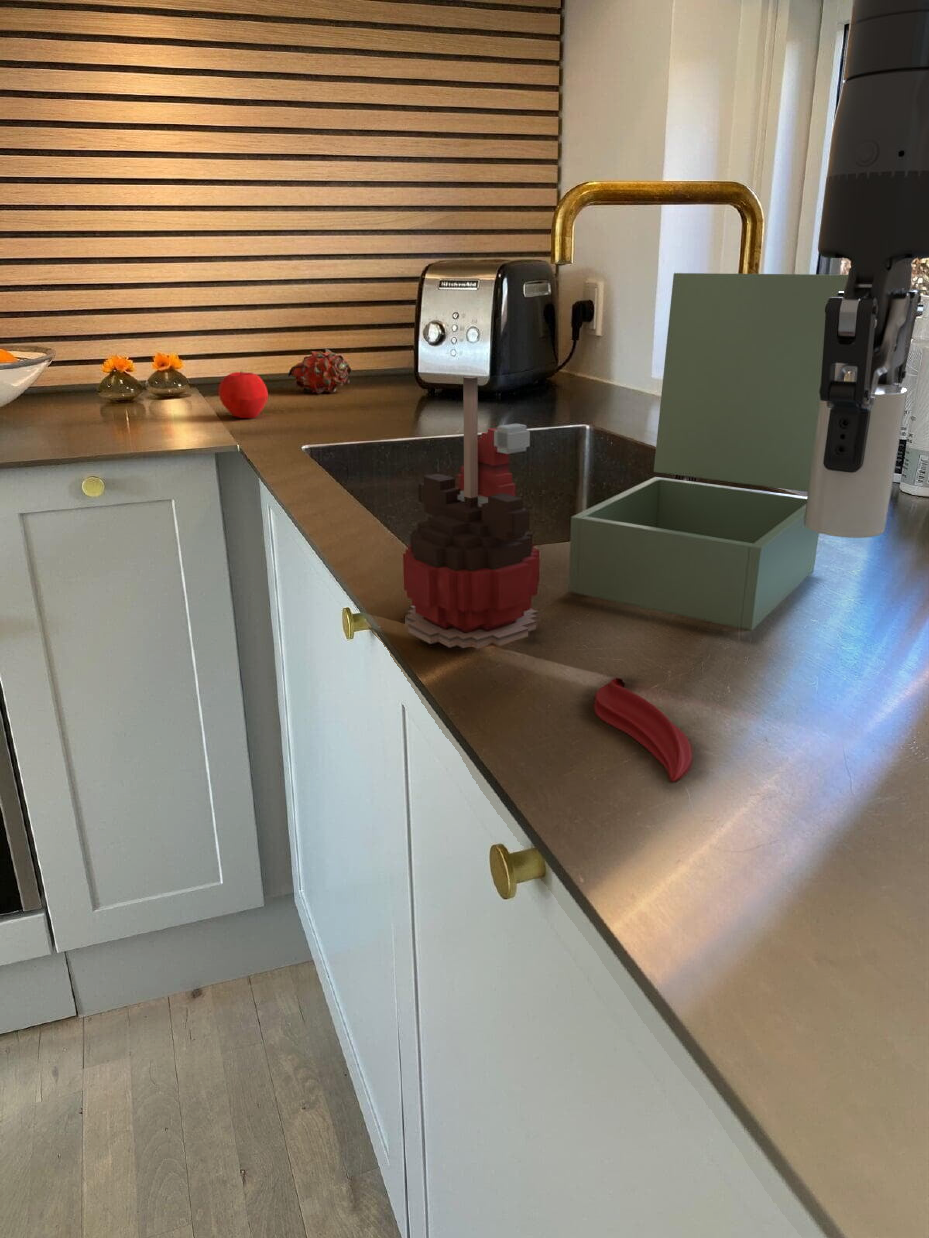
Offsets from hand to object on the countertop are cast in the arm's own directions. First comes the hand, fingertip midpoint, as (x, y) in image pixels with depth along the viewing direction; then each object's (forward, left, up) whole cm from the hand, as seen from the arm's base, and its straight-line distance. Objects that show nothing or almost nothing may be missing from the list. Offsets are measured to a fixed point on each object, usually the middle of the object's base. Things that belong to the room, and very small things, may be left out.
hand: (853, 460), depth 60 cm
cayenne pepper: (+18, -6, -13) cm, 23 cm away
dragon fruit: (-71, -112, -13) cm, 133 cm away
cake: (+11, -22, -13) cm, 28 cm away
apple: (-44, -104, -13) cm, 114 cm away
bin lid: (-14, -12, +3) cm, 19 cm away
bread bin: (-6, -12, -13) cm, 19 cm away
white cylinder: (0, 0, -4) cm, 4 cm away
